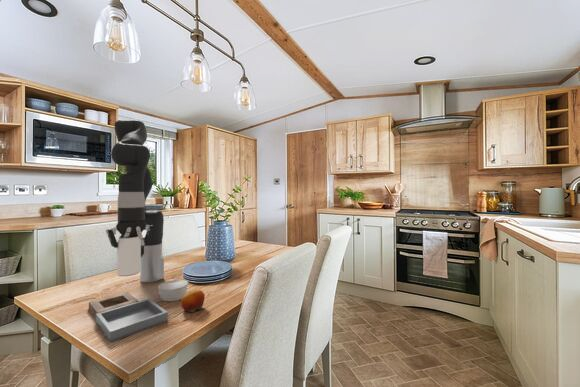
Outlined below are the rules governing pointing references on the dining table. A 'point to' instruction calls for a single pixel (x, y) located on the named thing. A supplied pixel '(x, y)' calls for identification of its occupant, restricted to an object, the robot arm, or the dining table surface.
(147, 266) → the robot arm
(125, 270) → the can
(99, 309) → the square wooden frame
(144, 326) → the tray
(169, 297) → the ramekin
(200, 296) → the fruit
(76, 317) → the dining table surface
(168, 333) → the dining table surface
